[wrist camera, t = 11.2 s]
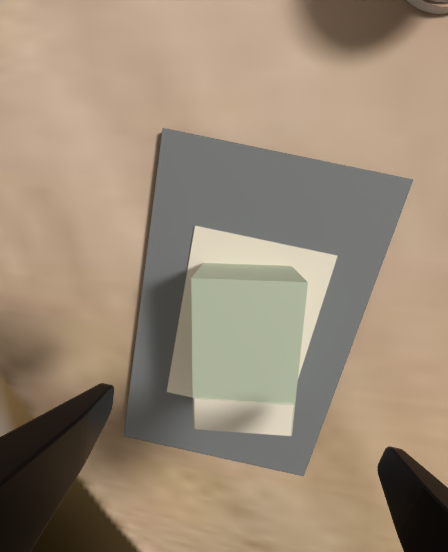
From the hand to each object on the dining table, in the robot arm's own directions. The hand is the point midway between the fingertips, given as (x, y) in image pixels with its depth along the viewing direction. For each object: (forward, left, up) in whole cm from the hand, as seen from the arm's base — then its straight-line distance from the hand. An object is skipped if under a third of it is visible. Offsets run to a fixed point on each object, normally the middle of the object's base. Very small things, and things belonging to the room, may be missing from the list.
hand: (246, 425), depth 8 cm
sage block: (0, 0, -7) cm, 7 cm away
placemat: (0, 0, -8) cm, 8 cm away
